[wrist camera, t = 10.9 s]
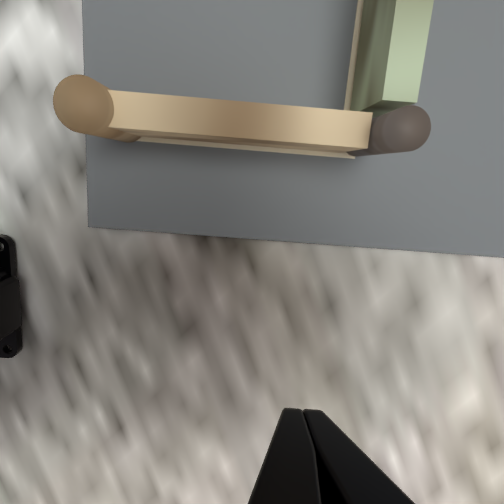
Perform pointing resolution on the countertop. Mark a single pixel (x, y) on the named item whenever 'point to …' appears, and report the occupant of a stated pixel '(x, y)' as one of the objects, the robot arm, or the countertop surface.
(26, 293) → the countertop surface
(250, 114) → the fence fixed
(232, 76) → the card
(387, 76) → the folding panel
